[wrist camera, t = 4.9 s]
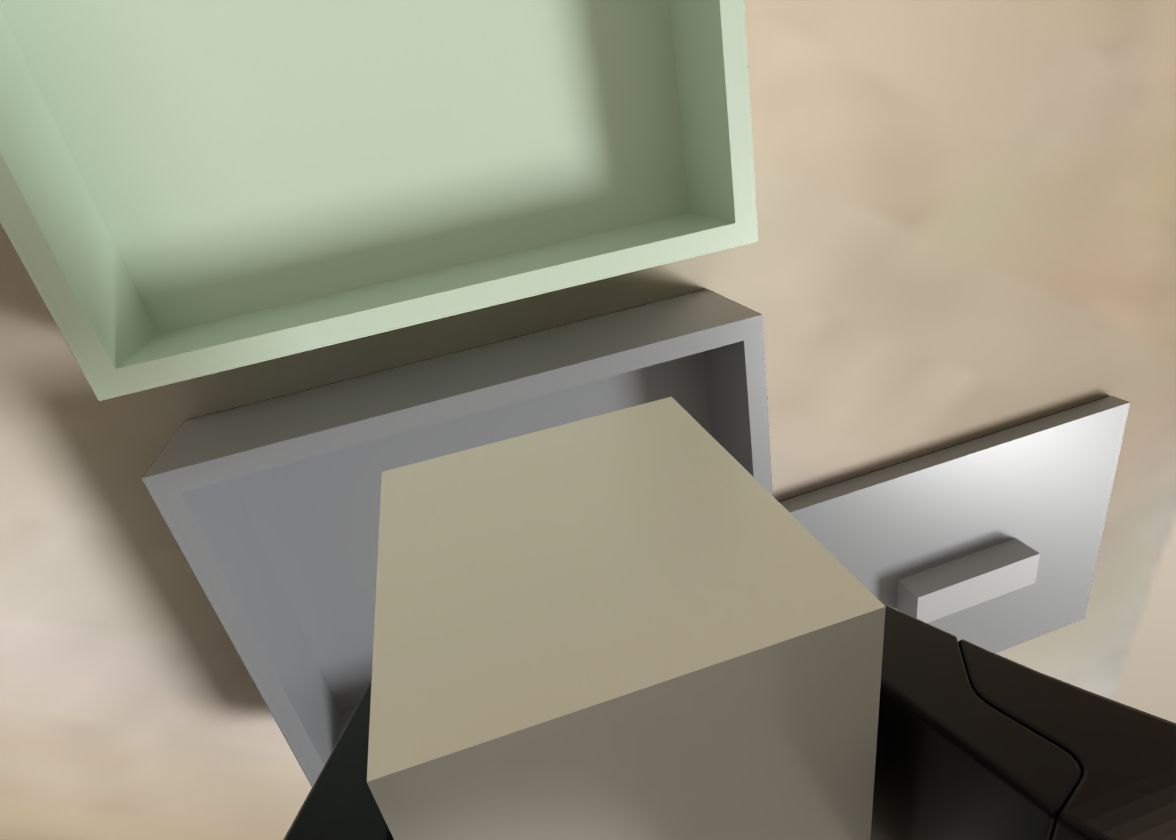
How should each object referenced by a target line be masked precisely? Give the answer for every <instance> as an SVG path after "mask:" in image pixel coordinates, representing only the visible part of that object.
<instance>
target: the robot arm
mask: <svg viewBox="0 0 1176 840" xmlns="http://www.w3.org/2000/svg"><path fill="white" fill-rule="evenodd" d="M882 604H883V603H882ZM884 605H885V604H884ZM885 606H886V609H885V624H884V640H883V655H882V670H881V686H880V701H879V716H878V731H877V747H876V762H875V777H874V792H873V808H872V823H871V838H870V840H1176V723H1173V722H1170V721H1167V720H1165V719H1162V718H1159V717H1157V716H1154V715H1151V714H1149V713H1146V712H1143V711H1140V710H1138V709H1135V708H1132V707H1130V706H1127V705H1124V704H1121V703H1119V702H1116V701H1113V700H1111V699H1108V698H1105V697H1102V696H1100V695H1097V694H1094V693H1092V692H1089V691H1086V690H1084V689H1081V688H1079V687H1076V686H1074V685H1071V684H1068V683H1066V682H1063V681H1061V680H1058V679H1055V678H1053V677H1050V676H1048V675H1045V674H1042V673H1040V672H1037V671H1035V670H1033V669H1030V668H1028V667H1026V666H1023V665H1021V664H1019V663H1016V662H1014V661H1012V660H1009V659H1007V658H1005V657H1002V656H1000V655H998V654H995V653H993V652H991V651H988V650H986V649H984V648H982V647H979V646H977V645H975V644H973V643H971V642H968V641H966V640H964V639H961V640H959V642H958V639H957V637H956V636H954V635H952V634H950V633H948V632H946V631H943V630H941V629H939V628H937V627H934V626H932V625H930V624H928V623H925V622H923V621H921V620H919V619H917V618H914V617H912V616H910V615H908V614H905V613H903V612H901V611H899V610H897V609H894V608H892V607H890V606H888V605H885ZM371 683H372V680H371V682H370V683H369V685H368V687H367V689H366V691H365V692H364V694H363V696H362V698H361V700H360V702H359V703H358V705H357V707H356V709H355V711H354V712H353V714H352V716H351V718H350V720H349V722H348V723H347V725H346V727H345V729H344V731H343V732H342V734H341V736H340V738H339V740H338V741H337V743H336V745H335V747H334V749H333V751H332V752H331V754H330V756H329V758H328V760H327V761H326V763H325V765H324V767H323V769H322V771H321V772H320V774H319V776H318V778H317V780H316V781H315V783H314V785H313V787H312V789H311V791H310V792H309V794H308V796H307V798H306V800H305V801H304V803H303V805H302V807H301V809H300V811H299V812H298V814H297V816H296V818H295V820H294V821H293V823H292V825H291V827H290V829H289V831H288V832H287V834H286V836H285V838H284V840H394V838H393V836H392V834H391V832H390V830H389V828H388V826H387V824H386V822H385V820H384V817H383V815H382V813H381V811H380V809H379V807H378V805H377V803H376V801H375V798H374V796H373V794H372V792H371V790H370V788H369V786H368V784H367V765H368V744H369V724H370V703H371Z"/></svg>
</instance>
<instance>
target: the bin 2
mask: <svg viewBox="0 0 1176 840" xmlns="http://www.w3.org/2000/svg"><path fill="white" fill-rule="evenodd" d="M668 397H672V398H673V399H674V400H675V401H676V402H677V403H678V404H679V405H681V406H682V407H683V408H684V409H685V410H686V411H687V412H688V413H689V414H690V415H691V416H692V417H693V418H694V419H695V420H696V421H697V422H698V423H699V424H700V425H701V426H702V427H703V428H704V429H705V430H706V431H707V432H708V433H709V434H710V435H711V436H712V437H713V438H714V439H715V440H716V441H717V442H718V443H719V444H720V445H721V446H722V447H723V448H724V449H725V450H726V451H727V452H728V453H729V454H730V455H732V456H733V457H734V458H735V459H736V460H737V461H738V462H739V463H740V464H741V465H742V466H743V467H744V468H745V469H746V470H747V471H748V472H749V473H750V474H751V475H752V476H753V477H754V478H755V479H756V480H757V481H758V482H759V483H760V484H761V485H762V486H763V487H764V488H765V489H766V490H767V491H768V492H769V493H770V494H771V495H772V496H773V491H772V474H771V456H770V439H769V422H768V404H767V387H766V370H765V352H764V335H763V317H762V314H760V313H758V312H756V311H753V310H751V309H749V308H747V307H745V306H743V305H741V304H739V303H736V302H734V301H732V300H730V299H728V298H726V297H724V296H722V295H719V294H717V293H715V292H713V291H711V290H709V289H706V290H702V291H698V292H694V293H690V294H686V295H682V296H678V297H674V298H670V299H666V300H662V301H658V302H654V303H650V304H646V305H642V306H638V307H634V308H630V309H627V310H623V311H619V312H615V313H611V314H607V315H603V316H599V317H595V318H591V319H587V320H583V321H579V322H575V323H571V324H567V325H563V326H559V327H555V328H551V329H547V330H543V331H539V332H535V333H531V334H527V335H524V336H520V337H516V338H512V339H508V340H504V341H500V342H496V343H492V344H488V345H484V346H480V347H476V348H472V349H468V350H464V351H460V352H456V353H452V354H448V355H444V356H440V357H436V358H432V359H428V360H425V361H421V362H417V363H413V364H409V365H405V366H401V367H397V368H393V369H389V370H385V371H381V372H377V373H373V374H369V375H365V376H361V377H357V378H353V379H349V380H345V381H341V382H337V383H333V384H329V385H326V386H322V387H318V388H314V389H310V390H306V391H302V392H298V393H294V394H290V395H286V396H282V397H278V398H274V399H270V400H266V401H262V402H258V403H254V404H250V405H246V406H242V407H238V408H234V409H230V410H226V411H223V412H219V413H215V414H211V415H207V416H203V417H199V418H195V419H191V420H187V421H184V422H183V424H182V425H181V426H180V428H179V429H178V430H177V432H176V433H175V434H174V436H173V437H172V438H171V440H170V441H169V442H168V444H167V445H166V446H165V448H164V449H163V450H162V452H161V453H160V454H159V456H158V457H157V458H156V460H155V461H154V462H153V464H152V465H151V466H150V468H149V469H148V471H147V472H146V473H145V475H144V476H143V477H142V480H143V482H144V484H145V486H146V488H147V489H148V491H149V493H150V495H151V497H152V498H153V500H154V502H155V504H156V506H157V508H158V509H159V511H160V513H161V515H162V517H163V518H164V520H165V522H166V524H167V526H168V527H169V529H170V531H171V533H172V535H173V537H174V538H175V540H176V542H177V544H178V546H179V547H180V549H181V551H182V553H183V555H184V556H185V558H186V560H187V562H188V564H189V565H190V567H191V569H192V571H193V573H194V575H195V576H196V578H197V580H198V582H199V584H200V585H201V587H202V589H203V591H204V593H205V594H206V596H207V598H208V600H209V602H210V603H211V605H212V607H213V609H214V611H215V613H216V614H217V616H218V618H219V620H220V622H221V623H222V625H223V627H224V629H225V631H226V632H227V634H228V636H229V638H230V640H231V641H232V643H233V645H234V647H235V649H236V651H237V652H238V654H239V656H240V658H241V660H242V661H243V663H244V665H245V667H246V669H247V670H248V672H249V674H250V676H251V678H252V679H253V681H254V683H255V685H256V687H257V689H258V690H259V692H260V694H261V696H262V698H263V699H264V701H265V703H266V705H267V707H268V708H269V710H270V712H271V714H272V716H273V717H274V719H275V721H276V723H277V725H278V727H279V728H280V730H281V732H282V734H283V736H284V737H285V739H286V741H287V743H288V745H289V746H290V748H291V750H292V752H293V754H294V756H295V757H296V759H297V761H298V763H299V765H300V766H301V768H302V770H303V772H304V774H305V775H306V777H307V779H308V781H309V783H310V784H311V786H312V787H313V785H314V783H315V781H316V780H317V778H318V776H319V774H320V772H321V771H322V769H323V767H324V765H325V763H326V761H327V760H328V758H329V756H330V754H331V752H332V751H333V749H334V747H335V745H336V743H337V741H338V740H339V738H340V736H341V734H342V732H343V731H344V729H345V727H346V725H347V723H348V722H349V720H350V718H351V716H352V714H353V712H354V711H355V709H356V707H357V705H358V703H359V702H360V700H361V698H362V696H363V694H364V692H365V691H366V689H367V687H368V685H369V683H370V682H371V680H372V662H373V641H374V621H375V600H376V579H377V559H378V538H379V517H380V497H381V476H382V472H383V471H387V470H391V469H395V468H399V467H403V466H406V465H410V464H414V463H418V462H422V461H426V460H430V459H433V458H437V457H441V456H445V455H449V454H453V453H456V452H460V451H464V450H468V449H472V448H476V447H480V446H483V445H487V444H491V443H495V442H499V441H503V440H506V439H510V438H514V437H518V436H522V435H526V434H530V433H533V432H537V431H541V430H545V429H549V428H553V427H556V426H560V425H564V424H568V423H572V422H576V421H580V420H583V419H587V418H591V417H595V416H599V415H603V414H607V413H610V412H614V411H618V410H622V409H626V408H630V407H633V406H637V405H641V404H645V403H649V402H653V401H657V400H660V399H664V398H668Z"/></svg>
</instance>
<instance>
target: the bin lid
mask: <svg viewBox="0 0 1176 840" xmlns="http://www.w3.org/2000/svg"><path fill="white" fill-rule="evenodd" d="M1129 406H1130V402H1128V401H1125V400H1122V399H1119V398H1116V397H1113V396H1109V397H1106V398H1103V399H1100V400H1097V401H1094V402H1090V403H1087V404H1084V405H1081V406H1078V407H1075V408H1072V409H1069V410H1065V411H1062V412H1059V413H1056V414H1053V415H1050V416H1047V417H1044V418H1040V419H1037V420H1034V421H1031V422H1028V423H1025V424H1022V425H1019V426H1015V427H1012V428H1009V429H1006V430H1003V431H1000V432H997V433H994V434H990V435H987V436H984V437H981V438H978V439H975V440H972V441H968V442H965V443H962V444H959V445H956V446H953V447H950V448H947V449H943V450H940V451H937V452H934V453H931V454H928V455H925V456H922V457H918V458H915V459H912V460H909V461H906V462H903V463H900V464H897V465H893V466H890V467H887V468H884V469H881V470H878V471H875V472H872V473H868V474H865V475H862V476H859V477H856V478H853V479H850V480H847V481H843V482H840V483H837V484H834V485H831V486H828V487H825V488H822V489H818V490H815V491H812V492H809V493H806V494H803V495H800V496H797V497H793V498H790V499H787V500H784V501H781V502H779V503H780V504H781V505H783V506H784V507H785V508H786V509H787V510H788V511H789V512H790V513H791V514H792V515H793V516H794V517H795V518H796V519H797V520H798V521H799V522H800V523H801V524H802V525H803V526H804V527H805V528H806V529H807V530H808V531H809V532H810V533H811V534H812V535H813V536H814V537H815V538H816V539H817V540H818V541H819V542H820V543H821V544H822V545H823V546H824V547H825V548H826V549H827V550H828V551H829V552H830V553H831V554H832V555H834V556H835V557H836V558H837V559H838V560H839V561H840V562H841V563H842V564H843V565H844V566H845V567H846V568H847V569H848V570H849V571H850V572H851V573H852V574H853V575H854V576H855V577H856V578H857V579H858V580H859V581H860V582H861V583H862V584H863V585H864V586H865V587H866V588H867V589H868V590H869V591H870V592H871V593H872V594H873V595H874V596H875V597H876V598H877V599H878V600H879V601H880V602H881V603H883V604H885V605H888V606H890V607H892V608H894V609H897V610H899V611H901V612H903V613H905V614H908V615H910V616H912V617H914V618H917V619H919V620H921V621H923V622H925V623H928V624H930V625H932V626H934V627H937V628H939V629H941V630H943V631H946V632H948V633H950V634H952V635H954V636H956V637H957V639H958V642H959V640H961V639H964V640H966V641H968V642H971V643H973V644H975V645H977V646H979V647H982V648H984V649H986V650H988V651H991V652H993V653H997V652H1000V651H1002V650H1005V649H1007V648H1010V647H1013V646H1015V645H1018V644H1020V643H1023V642H1025V641H1028V640H1031V639H1033V638H1036V637H1038V636H1041V635H1043V634H1046V633H1049V632H1051V631H1054V630H1056V629H1059V628H1061V627H1064V626H1067V625H1069V624H1072V623H1074V622H1077V621H1079V620H1082V619H1085V614H1086V609H1087V604H1088V600H1089V595H1090V590H1091V586H1092V581H1093V576H1094V571H1095V567H1096V562H1097V557H1098V552H1099V548H1100V543H1101V538H1102V533H1103V529H1104V524H1105V519H1106V514H1107V510H1108V505H1109V500H1110V496H1111V491H1112V486H1113V481H1114V477H1115V472H1116V467H1117V462H1118V458H1119V453H1120V448H1121V443H1122V439H1123V434H1124V429H1125V425H1126V420H1127V415H1128V410H1129Z"/></svg>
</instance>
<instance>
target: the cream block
mask: <svg viewBox="0 0 1176 840" xmlns="http://www.w3.org/2000/svg"><path fill="white" fill-rule="evenodd" d="M885 609H886V606H885V605H884V604H882V603H881V602H880V601H879V600H878V599H877V598H876V597H875V596H874V595H873V594H872V593H871V592H870V591H869V590H868V589H867V588H866V587H865V586H864V585H863V584H862V583H861V582H860V581H859V580H858V579H857V578H856V577H855V576H854V575H853V574H852V573H851V572H850V571H849V570H848V569H847V568H846V567H845V566H844V565H843V564H842V563H841V562H840V561H839V560H838V559H837V558H836V557H835V556H834V555H832V554H831V553H830V552H829V551H828V550H827V549H826V548H825V547H824V546H823V545H822V544H821V543H820V542H819V541H818V540H817V539H816V538H815V537H814V536H813V535H812V534H811V533H810V532H809V531H808V530H807V529H806V528H805V527H804V526H803V525H802V524H801V523H800V522H799V521H798V520H797V519H796V518H795V517H794V516H793V515H792V514H791V513H790V512H789V511H788V510H787V509H786V508H785V507H784V506H783V505H781V504H780V503H779V502H778V501H777V500H776V499H775V498H774V497H773V496H772V495H771V494H770V493H769V492H768V491H767V490H766V489H765V488H764V487H763V486H762V485H761V484H760V483H759V482H758V481H757V480H756V479H755V478H754V477H753V476H752V475H751V474H750V473H749V472H748V471H747V470H746V469H745V468H744V467H743V466H742V465H741V464H740V463H739V462H738V461H737V460H736V459H735V458H734V457H733V456H732V455H730V454H729V453H728V452H727V451H726V450H725V449H724V448H723V447H722V446H721V445H720V444H719V443H718V442H717V441H716V440H715V439H714V438H713V437H712V436H711V435H710V434H709V433H708V432H707V431H706V430H705V429H704V428H703V427H702V426H701V425H700V424H699V423H698V422H697V421H696V420H695V419H694V418H693V417H692V416H691V415H690V414H689V413H688V412H687V411H686V410H685V409H684V408H683V407H682V406H681V405H679V404H678V403H677V402H676V401H675V400H674V399H673V398H672V397H668V398H664V399H660V400H657V401H653V402H649V403H645V404H641V405H637V406H633V407H630V408H626V409H622V410H618V411H614V412H610V413H607V414H603V415H599V416H595V417H591V418H587V419H583V420H580V421H576V422H572V423H568V424H564V425H560V426H556V427H553V428H549V429H545V430H541V431H537V432H533V433H530V434H526V435H522V436H518V437H514V438H510V439H506V440H503V441H499V442H495V443H491V444H487V445H483V446H480V447H476V448H472V449H468V450H464V451H460V452H456V453H453V454H449V455H445V456H441V457H437V458H433V459H430V460H426V461H422V462H418V463H414V464H410V465H406V466H403V467H399V468H395V469H391V470H387V471H383V472H382V476H381V497H380V517H379V538H378V559H377V579H376V600H375V621H374V641H373V662H372V683H371V703H370V724H369V744H368V765H367V784H368V786H369V788H370V790H371V792H372V794H373V796H374V798H375V801H376V803H377V805H378V807H379V809H380V811H381V813H382V815H383V817H384V820H385V822H386V824H387V826H388V828H389V830H390V832H391V834H392V836H393V838H394V840H870V838H871V823H872V808H873V792H874V777H875V762H876V747H877V731H878V716H879V701H880V686H881V670H882V655H883V640H884V624H885Z"/></svg>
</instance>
